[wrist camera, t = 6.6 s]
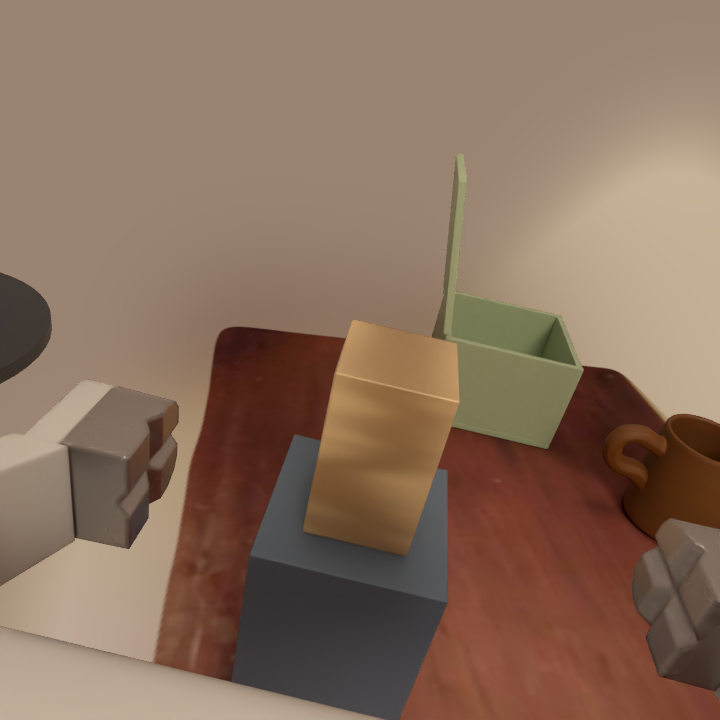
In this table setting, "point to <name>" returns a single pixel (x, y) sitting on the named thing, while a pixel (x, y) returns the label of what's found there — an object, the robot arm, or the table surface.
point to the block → (382, 436)
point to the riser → (339, 603)
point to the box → (510, 369)
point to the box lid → (454, 241)
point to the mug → (669, 472)
